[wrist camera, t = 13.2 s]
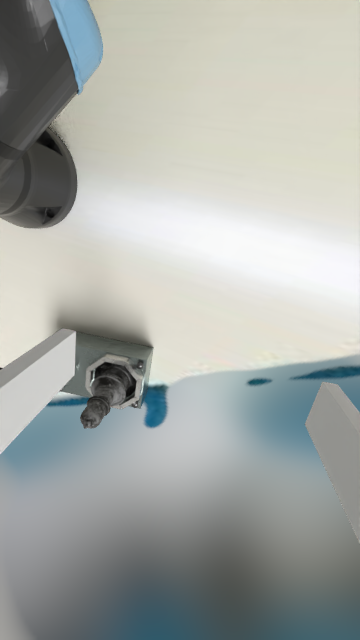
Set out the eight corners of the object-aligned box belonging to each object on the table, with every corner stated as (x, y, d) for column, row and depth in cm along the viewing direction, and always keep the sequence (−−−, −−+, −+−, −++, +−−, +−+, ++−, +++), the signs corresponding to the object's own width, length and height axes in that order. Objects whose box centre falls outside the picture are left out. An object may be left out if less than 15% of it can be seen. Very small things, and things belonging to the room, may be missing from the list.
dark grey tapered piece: (115, 399, 48) (85, 452, 37) (92, 376, 47) (54, 423, 36) (138, 383, 46) (114, 433, 35) (115, 358, 45) (83, 402, 34)
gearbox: (69, 375, 54) (49, 396, 47) (70, 330, 50) (49, 346, 44) (146, 392, 53) (137, 416, 46) (153, 347, 50) (144, 366, 43)
